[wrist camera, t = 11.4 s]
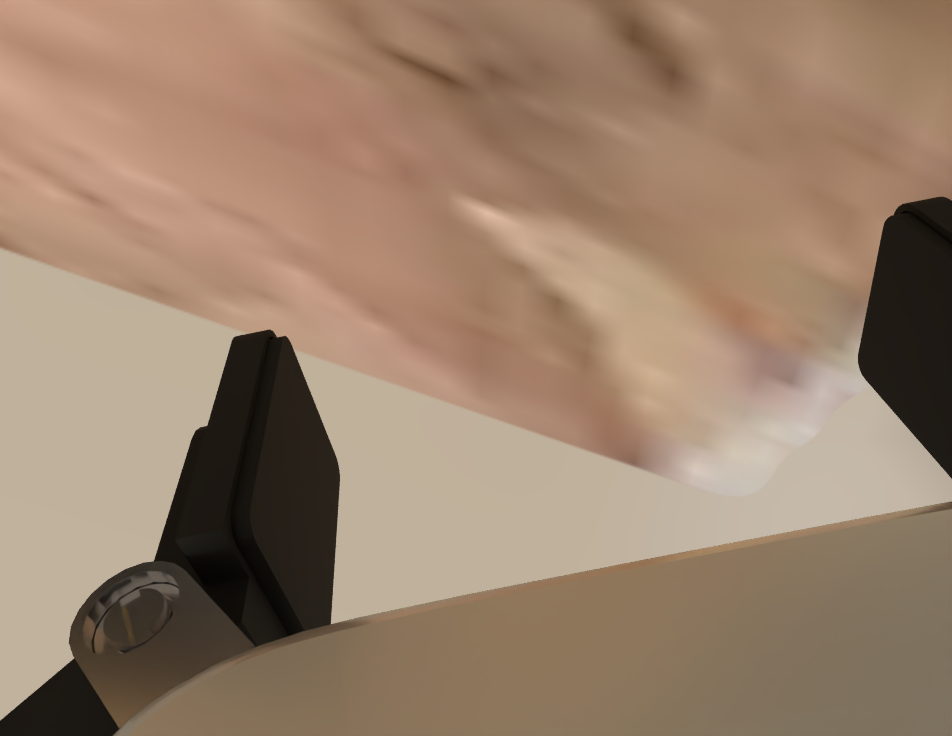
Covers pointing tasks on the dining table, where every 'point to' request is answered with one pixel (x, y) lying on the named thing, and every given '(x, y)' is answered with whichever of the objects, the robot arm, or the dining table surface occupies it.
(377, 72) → the dining table surface
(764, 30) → the dining table surface
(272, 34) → the dining table surface
